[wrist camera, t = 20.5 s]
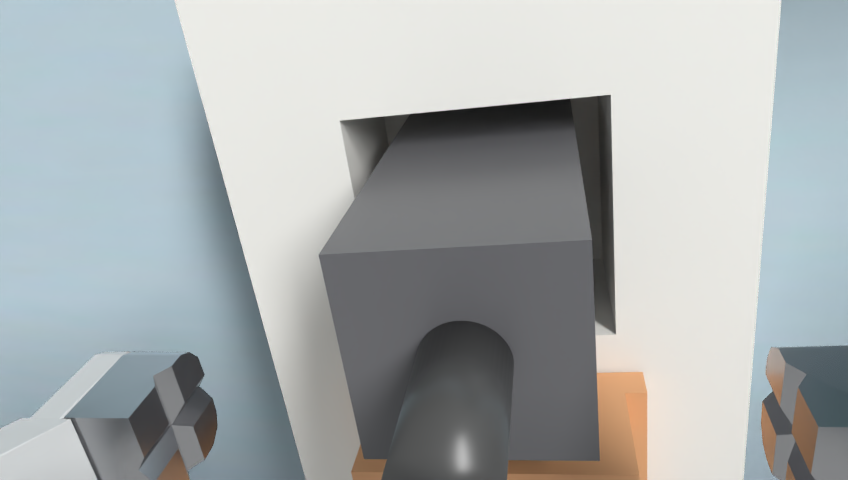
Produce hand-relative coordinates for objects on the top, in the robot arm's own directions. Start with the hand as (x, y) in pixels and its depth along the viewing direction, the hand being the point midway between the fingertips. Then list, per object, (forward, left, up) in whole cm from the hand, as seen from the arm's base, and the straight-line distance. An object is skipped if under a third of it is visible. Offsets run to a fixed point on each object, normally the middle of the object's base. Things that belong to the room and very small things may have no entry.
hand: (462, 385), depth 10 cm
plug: (+1, 0, -10) cm, 10 cm away
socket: (+2, 0, -12) cm, 13 cm away
